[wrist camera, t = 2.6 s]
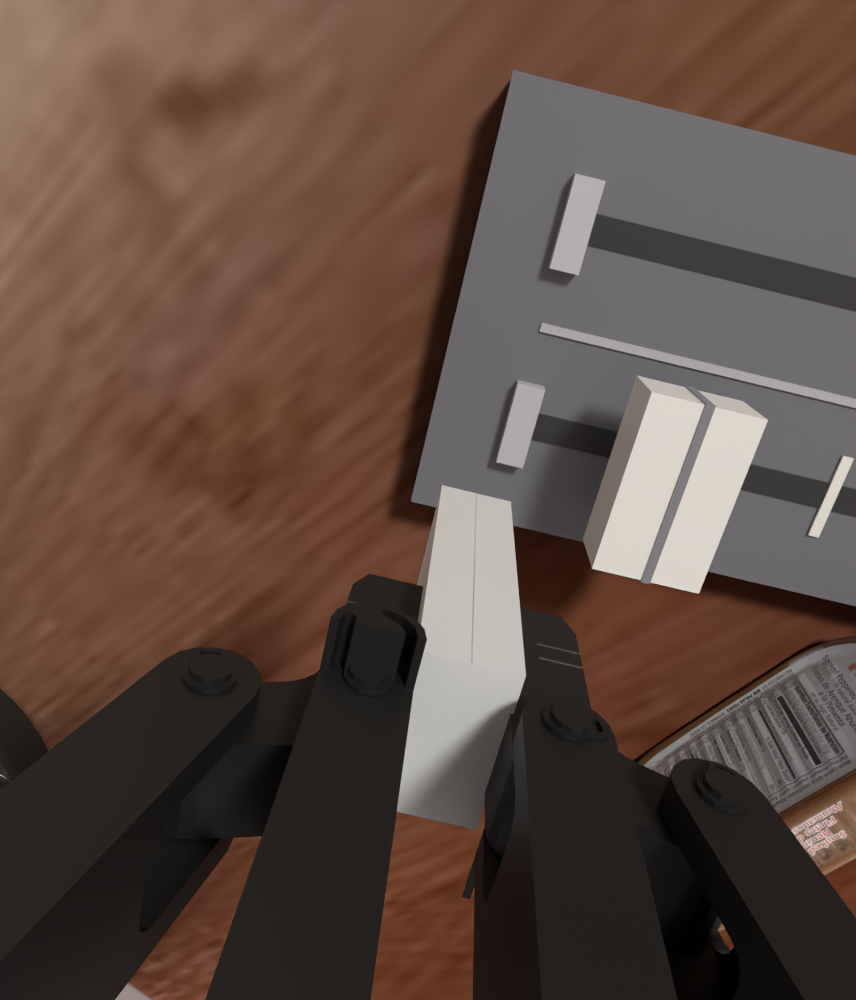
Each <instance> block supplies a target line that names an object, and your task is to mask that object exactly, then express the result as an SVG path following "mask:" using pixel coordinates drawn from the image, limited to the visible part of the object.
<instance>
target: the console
mask: <svg viewBox="0 0 856 1000" xmlns="http://www.w3.org/2000/svg"><path fill="white" fill-rule="evenodd" d="M636 376H641V377H645V378H649V379H653V380H658V381H662V382H666V383H670V384H674V385H678V386H682V387H685V386H690V387H694V388H696V389H697V390H699V391H703V392H707V393H711V394H715V395H720V396H724V397H728V398H732V399H736V400H740V401H743V402H745V403H746V404H747V405H749V406H750V407H751V408H753V409H754V410H755V411H757V412H758V413H759V414H761V415H762V416H763V417H765V418H766V419H767V420H768V422H767V424H766V427H765V429H764V432H763V434H762V437H761V439H760V442H759V444H758V447H757V449H756V452H755V454H754V457H753V459H752V462H751V464H750V467H749V469H748V472H747V474H746V477H745V479H744V482H743V484H742V487H741V489H740V492H739V494H738V497H737V499H736V502H735V504H734V507H733V509H732V512H731V514H730V517H729V519H728V522H727V524H726V527H725V529H724V532H723V534H722V537H721V539H720V542H719V545H718V547H717V550H716V552H715V555H714V557H713V560H712V562H711V565H710V567H709V570H708V572H712V573H716V574H720V575H725V576H729V577H733V578H737V579H742V580H746V581H750V582H754V583H759V584H763V585H767V586H771V587H776V588H780V589H784V590H788V591H793V592H797V593H801V594H805V595H810V596H814V597H818V598H822V599H827V600H831V601H835V602H839V603H844V604H848V605H852V606H856V156H854V155H850V154H846V153H842V152H838V151H834V150H830V149H826V148H822V147H818V146H814V145H810V144H806V143H802V142H798V141H794V140H790V139H786V138H782V137H778V136H774V135H770V134H766V133H763V132H759V131H755V130H751V129H747V128H743V127H739V126H735V125H731V124H727V123H723V122H719V121H715V120H711V119H707V118H703V117H699V116H695V115H691V114H687V113H683V112H679V111H675V110H671V109H667V108H663V107H659V106H655V105H651V104H647V103H643V102H639V101H635V100H631V99H627V98H623V97H619V96H615V95H611V94H607V93H603V92H599V91H595V90H591V89H587V88H583V87H579V86H575V85H571V84H567V83H563V82H559V81H555V80H551V79H547V78H543V77H539V76H535V75H531V74H527V73H523V72H520V71H516V70H513V73H512V77H511V81H510V85H509V89H508V94H507V98H506V102H505V106H504V110H503V115H502V119H501V123H500V127H499V131H498V136H497V140H496V144H495V148H494V152H493V157H492V161H491V165H490V169H489V173H488V178H487V182H486V186H485V190H484V194H483V199H482V203H481V207H480V211H479V215H478V220H477V224H476V228H475V232H474V236H473V241H472V245H471V249H470V253H469V258H468V262H467V266H466V270H465V274H464V279H463V283H462V287H461V291H460V295H459V300H458V304H457V308H456V312H455V316H454V321H453V325H452V329H451V333H450V337H449V342H448V346H447V350H446V354H445V358H444V363H443V367H442V371H441V375H440V379H439V384H438V388H437V392H436V396H435V401H434V405H433V409H432V413H431V417H430V422H429V426H428V430H427V434H426V438H425V443H424V447H423V451H422V455H421V459H420V464H419V468H418V472H417V476H416V480H415V485H414V489H413V494H412V498H411V502H415V503H419V504H423V505H428V506H432V507H437V503H438V499H439V495H440V491H441V487H442V485H444V486H448V487H452V488H456V489H460V490H465V491H469V492H473V493H477V494H481V495H485V496H490V497H494V498H498V499H502V500H506V501H511V509H512V521H513V526H517V527H521V528H525V529H529V530H534V531H538V532H542V533H546V534H551V535H555V536H559V537H563V538H568V539H572V540H576V541H580V542H583V537H584V534H585V531H586V528H587V525H588V522H589V519H590V516H591V513H592V510H593V507H594V504H595V501H596V497H597V494H598V491H599V488H600V485H601V482H602V479H603V476H604V473H605V470H606V467H607V464H608V461H609V458H610V455H611V452H612V449H613V446H614V443H615V440H616V437H617V434H618V431H619V428H620V425H621V422H622V419H623V416H624V412H625V409H626V406H627V403H628V400H629V397H630V394H631V391H632V388H633V385H634V382H635V379H636Z"/></svg>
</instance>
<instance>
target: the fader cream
mask: <svg viewBox="0 0 856 1000" xmlns="http://www.w3.org/2000/svg"><path fill="white" fill-rule="evenodd" d="M767 422H768V420H767V419H766V418H765V417H763V416H762V415H761V414H759V413H758V412H757V411H755V410H754V409H753V408H751V407H750V406H749V405H747V404H746V403H745V402H743V401H740V400H736V399H732V398H728V397H724V396H720V395H715V394H711V393H707V392H703V391H699V390H697V389H696V388H694V387H690V386H685V387H682V386H678V385H674V384H670V383H666V382H662V381H658V380H653V379H649V378H645V377H641V376H636V379H635V382H634V385H633V388H632V391H631V394H630V397H629V400H628V403H627V406H626V409H625V412H624V416H623V419H622V422H621V425H620V428H619V431H618V434H617V437H616V440H615V443H614V446H613V449H612V452H611V455H610V458H609V461H608V464H607V467H606V470H605V473H604V476H603V479H602V482H601V485H600V488H599V491H598V494H597V497H596V501H595V504H594V507H593V510H592V513H591V516H590V519H589V522H588V525H587V528H586V531H585V534H584V537H583V542H584V545H585V548H586V551H587V554H588V558H589V561H590V564H591V567H592V569H595V570H600V571H604V572H608V573H613V574H617V575H621V576H625V577H630V578H634V579H638V580H640V581H641V582H642V583H646V584H650V582H651V583H655V584H659V585H664V586H668V587H672V588H676V589H681V590H685V591H689V592H693V593H698V594H699V592H700V590H701V587H702V585H703V582H704V580H705V577H706V575H707V572H708V570H709V567H710V565H711V562H712V560H713V557H714V555H715V552H716V550H717V547H718V545H719V542H720V539H721V537H722V534H723V532H724V529H725V527H726V524H727V522H728V519H729V517H730V514H731V512H732V509H733V507H734V504H735V502H736V499H737V497H738V494H739V492H740V489H741V487H742V484H743V482H744V479H745V477H746V474H747V472H748V469H749V467H750V464H751V462H752V459H753V457H754V454H755V452H756V449H757V447H758V444H759V442H760V439H761V437H762V434H763V432H764V429H765V427H766V424H767Z"/></svg>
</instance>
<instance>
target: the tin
mask: <svg viewBox="0 0 856 1000" xmlns="http://www.w3.org/2000/svg"><path fill="white" fill-rule="evenodd" d="M692 758H700V759H705V760H709V761H714V762H717V763H720V764H723V765H724V766H728V767H730V768H732V769H734V770H735V771H737V772H738V773H739V774H741V775H742V776H744V777H745V778H746V779H748V780H749V781H751V782H752V783H753V784H754V785H755V786H756V787H757V788H758V789H759V790H760V791H761V792H762V793H763V794H764V795H765V797H766V798H767V799H768V801H769V802H770V803H771V805H772V806H773V807H774V809H775V810H776V811H777V813H778V814H779V815H780V817H781V818H782V819H783V821H784V822H785V823H786V825H787V826H788V828H789V829H790V830H791V832H792V833H793V834H794V836H795V837H796V838H797V840H798V841H799V842H800V844H801V845H802V846H803V848H804V849H805V850H806V852H807V853H808V854H809V856H810V857H811V858H812V860H813V861H814V862H815V864H816V865H817V866H818V868H819V869H820V871H821V872H822V873H823V875H826V874H827V873H829V872H831V871H833V870H835V869H837V868H839V867H841V866H842V865H844V864H846V863H848V862H850V861H851V860H853V859H855V858H856V636H854V637H846V638H840V639H836V640H832V641H828V642H825V643H822V644H819V645H817V646H814V647H812V648H809V649H807V650H805V651H803V652H801V653H799V654H797V655H796V656H794V657H792V658H791V659H789V660H787V661H786V662H784V663H783V664H781V665H780V666H778V667H777V668H775V669H774V670H772V671H770V672H769V673H767V674H766V675H764V676H763V677H761V678H760V679H758V680H757V681H755V682H753V683H752V684H750V685H749V686H747V687H746V688H744V689H743V690H741V691H740V692H738V693H737V694H735V695H733V696H732V697H730V698H729V699H727V700H726V701H724V702H723V703H721V704H720V705H718V706H716V707H715V708H713V709H712V710H710V711H709V712H707V713H706V714H704V715H703V716H701V717H700V718H698V719H697V720H695V721H694V722H692V723H691V724H689V725H687V726H686V727H684V728H683V729H681V730H680V731H678V732H677V733H675V734H674V735H672V736H671V737H669V738H667V739H666V740H664V741H663V742H661V743H660V744H658V745H657V746H656V747H654V748H653V749H652V750H650V751H649V752H648V753H647V754H646V755H644V756H643V757H642V758H641V759H640V760H639V761H638V762H637V763H638V764H640V765H643V766H645V767H647V768H649V769H651V770H654V771H656V772H658V773H660V774H663V775H665V776H667V777H669V775H670V773H671V770H672V768H673V766H674V765H675V764H677V763H678V762H680V761H681V760H683V759H692ZM724 929H725V927H724V926H723V924H722V923H721V925H720V927H719V929H718V931H721V930H724Z"/></svg>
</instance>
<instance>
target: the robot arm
mask: <svg viewBox="0 0 856 1000" xmlns="http://www.w3.org/2000/svg"><path fill="white" fill-rule="evenodd" d="M581 668H582V663H581V658H580V655H579V649H578V644H577V639H576V634H575V633H574V632H573V631H572V630H571V628H570V627H569V626H568V625H567V624H566V622H565V621H564V620H563V619H562V617H559V616H555V615H550V614H546V613H542V612H538V611H533V610H529V609H525V608H521V607H520V601H519V589H518V578H517V566H516V555H515V544H514V532H513V521H512V509H511V501H506V500H502V499H498V498H494V497H490V496H485V495H481V494H477V493H473V492H469V491H465V490H460V489H456V488H452V487H448V486H444V485H442V487H441V491H440V495H439V499H438V503H437V507H436V511H435V515H434V519H433V523H432V527H431V531H430V535H429V539H428V542H427V546H426V550H425V554H424V558H423V562H422V566H421V570H420V574H419V578H418V582H417V585H415V584H410V583H406V582H402V581H398V580H393V579H389V578H385V577H381V576H377V575H372V574H368V575H366V576H365V577H363V578H362V579H360V580H359V581H357V582H356V583H354V584H353V586H352V589H351V592H350V595H349V598H348V601H347V604H346V606H343V607H341V608H338V609H337V610H336V611H335V613H334V614H333V615H332V616H331V618H330V623H329V628H328V633H327V638H326V642H325V647H324V652H323V657H322V661H321V666H320V670H319V671H318V672H317V673H315V674H313V675H311V676H309V677H307V678H304V679H300V680H295V681H288V682H261V678H260V672H259V670H258V669H257V668H256V667H255V666H254V664H253V663H252V662H251V661H250V660H248V659H246V658H244V657H243V656H241V655H239V654H237V653H235V652H231V651H227V650H223V649H219V648H193V649H188V650H183V651H179V652H178V653H176V654H174V655H172V656H170V657H168V658H166V659H165V660H163V661H162V662H161V663H160V664H158V665H157V666H156V667H155V668H153V669H152V670H151V671H149V672H148V673H147V674H146V675H144V676H143V677H142V678H141V679H139V680H138V681H137V682H136V683H134V684H133V685H132V686H131V687H129V688H128V689H127V690H126V691H124V692H123V693H122V694H120V695H119V696H118V697H117V698H115V699H114V700H113V701H112V702H110V703H109V704H108V705H107V706H105V707H104V708H103V709H102V710H100V711H99V712H98V713H97V714H95V715H94V716H93V717H91V718H90V719H89V720H88V721H86V722H85V723H84V724H83V725H81V726H80V727H79V728H78V729H76V730H75V731H74V732H73V733H71V734H70V735H69V736H68V737H66V738H65V739H64V740H62V741H61V742H60V743H59V744H57V745H56V746H55V747H54V748H52V749H51V750H50V751H49V752H47V749H46V747H45V745H44V743H43V741H42V739H41V738H40V736H39V734H38V733H37V731H36V729H35V728H34V726H33V725H32V723H31V722H30V721H29V719H28V718H27V717H26V715H25V714H24V713H23V712H22V710H21V709H20V708H19V707H18V706H17V705H16V704H15V703H14V702H13V701H12V700H11V699H10V698H9V697H8V696H7V695H6V694H5V693H4V692H3V691H2V690H1V689H0V1000H115V999H116V998H117V996H118V995H119V993H120V992H121V991H122V990H123V988H124V987H125V986H126V984H127V983H128V982H129V980H130V979H131V978H132V976H133V975H134V974H135V973H136V971H137V970H138V969H139V967H140V966H141V965H142V963H143V962H144V961H145V959H146V958H147V957H148V955H149V954H150V953H151V951H152V950H153V949H154V947H155V946H156V945H157V943H158V942H159V941H160V939H161V938H162V937H163V935H164V934H165V933H166V932H167V930H168V929H169V928H170V926H171V925H172V924H173V922H174V921H175V920H176V918H177V917H178V916H179V914H180V913H181V912H182V910H183V909H184V908H185V906H186V905H187V904H188V902H189V901H190V900H191V898H192V897H193V896H194V894H195V893H196V892H197V891H198V889H199V888H200V887H201V885H202V884H203V883H204V881H205V880H206V879H207V877H208V876H209V875H210V873H211V872H212V871H213V869H214V868H215V867H216V865H217V864H218V863H219V861H220V860H221V859H222V857H223V856H224V855H225V853H226V852H227V851H228V849H229V847H230V844H231V842H232V840H233V838H234V837H253V836H262V838H261V841H260V843H259V846H258V849H257V852H256V855H255V858H254V861H253V864H252V867H251V869H250V872H249V875H248V878H247V881H246V884H245V887H244V890H243V893H242V895H241V898H240V901H239V904H238V907H237V910H236V913H235V916H234V919H233V922H232V924H231V927H230V930H229V933H228V936H227V939H226V942H225V945H224V948H223V950H222V953H221V956H220V959H219V962H218V965H217V968H216V971H215V974H214V976H213V979H212V982H211V985H210V988H209V991H208V994H207V997H206V1000H370V999H371V992H372V985H373V977H374V970H375V963H376V956H377V949H378V942H379V935H380V927H381V920H382V913H383V906H384V899H385V892H386V884H387V877H388V870H389V863H390V856H391V849H392V841H393V834H394V827H395V820H396V813H397V812H401V813H405V814H410V815H414V816H418V817H423V818H427V819H431V820H436V821H440V822H444V823H449V824H453V825H457V826H462V827H466V828H470V829H475V830H476V829H477V826H478V823H479V819H480V816H481V813H482V810H483V807H484V804H485V828H484V831H483V834H482V837H481V840H480V843H479V846H478V849H477V852H476V855H475V858H474V861H473V864H472V867H471V870H470V873H469V876H468V879H467V882H466V886H465V889H464V893H463V896H462V897H464V898H468V899H470V897H471V894H472V891H473V888H474V886H475V906H474V963H473V1000H856V918H855V916H854V915H853V913H852V912H851V911H850V909H849V908H848V907H847V905H846V904H845V903H844V901H843V900H842V899H841V897H840V896H839V895H838V893H837V892H836V891H835V889H834V888H833V887H832V885H831V884H830V883H829V881H828V880H827V879H826V877H825V876H824V875H823V873H822V872H821V871H820V869H819V868H818V866H817V865H816V864H815V862H814V861H813V860H812V858H811V857H810V856H809V854H808V853H807V852H806V850H805V849H804V848H803V846H802V845H801V844H800V842H799V841H798V840H797V838H796V837H795V836H794V834H793V833H792V832H791V830H790V829H789V828H788V826H787V825H786V823H785V822H784V821H783V819H782V818H781V817H780V815H779V814H778V813H777V811H776V810H775V809H774V807H773V806H772V805H771V803H770V802H769V801H768V799H767V798H766V797H765V795H764V794H763V793H762V792H761V791H760V790H759V789H758V788H757V787H756V786H755V785H754V784H753V783H752V782H751V781H749V780H748V779H746V778H745V777H744V776H742V775H741V774H739V773H738V772H737V771H735V770H734V769H732V768H730V767H728V766H724V765H723V764H720V763H717V762H714V761H709V760H705V759H700V758H692V759H683V760H681V761H680V762H678V763H677V764H675V765H674V766H673V768H672V770H671V773H670V775H669V777H667V776H665V775H663V774H660V773H658V772H656V771H654V770H651V769H649V768H647V767H645V766H643V765H640V764H638V763H637V762H635V761H633V760H631V759H629V758H627V757H625V756H624V755H623V754H621V753H620V752H618V747H617V743H616V739H615V736H614V734H613V732H612V730H611V728H610V726H609V724H608V723H607V722H606V721H605V720H604V719H603V718H602V717H601V716H600V715H599V714H598V713H596V712H595V711H593V710H591V706H590V701H589V696H588V692H587V687H586V682H585V677H584V673H583V669H581ZM721 923H722V924H723V926H724V927H725V929H726V931H727V933H728V935H729V936H730V938H731V940H732V942H733V945H734V948H733V949H732V950H731V951H730V949H729V948H728V947H727V945H726V944H725V942H724V941H723V939H722V937H721V935H720V933H719V932H718V929H719V927H720V925H721Z"/></svg>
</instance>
